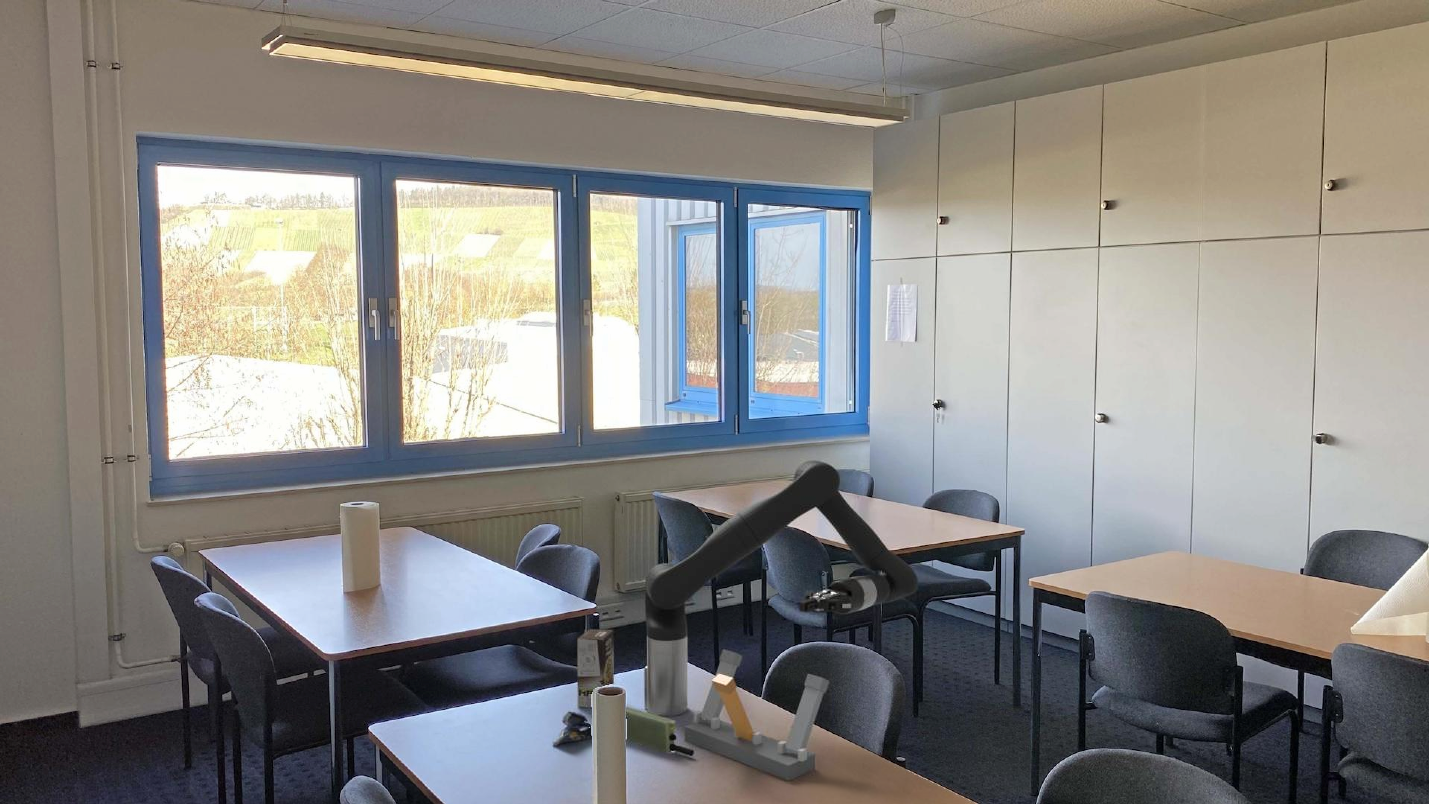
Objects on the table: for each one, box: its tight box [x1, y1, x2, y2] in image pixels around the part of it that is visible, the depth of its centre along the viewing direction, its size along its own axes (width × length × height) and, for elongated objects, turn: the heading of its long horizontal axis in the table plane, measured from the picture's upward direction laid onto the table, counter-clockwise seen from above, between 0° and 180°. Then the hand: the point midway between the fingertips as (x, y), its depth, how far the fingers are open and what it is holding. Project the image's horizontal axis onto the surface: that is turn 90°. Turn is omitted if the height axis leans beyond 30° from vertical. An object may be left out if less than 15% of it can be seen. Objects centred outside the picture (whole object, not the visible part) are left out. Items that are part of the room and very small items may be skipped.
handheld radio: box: [626, 706, 695, 757], centre depth 221 cm, size 7×3×25 cm
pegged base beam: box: [684, 710, 816, 782], centre depth 215 cm, size 30×8×5 cm, turn 45°
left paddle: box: [700, 648, 743, 721], centre depth 226 cm, size 4×2×15 cm, turn 45°
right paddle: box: [785, 673, 830, 753], centre depth 209 cm, size 4×2×15 cm, turn 45°
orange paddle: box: [711, 674, 754, 741], centre depth 212 cm, size 4×2×15 cm, turn 45°
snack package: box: [552, 711, 592, 747], centre depth 225 cm, size 12×6×12 cm
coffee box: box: [577, 628, 615, 709], centre depth 247 cm, size 9×6×16 cm
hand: (801, 607), depth 226 cm, fingers closed
